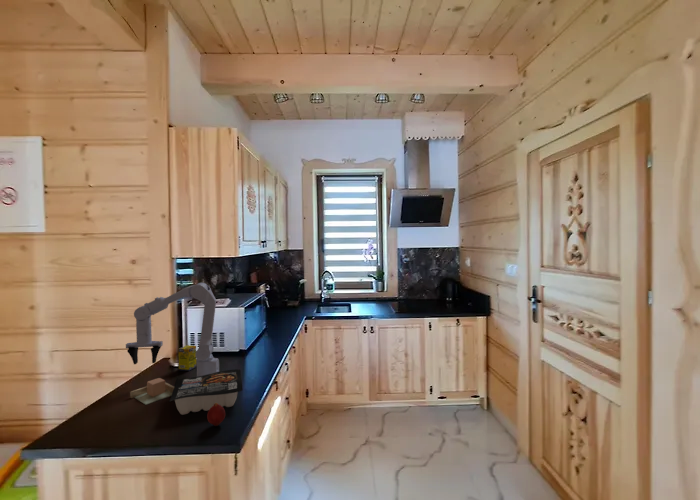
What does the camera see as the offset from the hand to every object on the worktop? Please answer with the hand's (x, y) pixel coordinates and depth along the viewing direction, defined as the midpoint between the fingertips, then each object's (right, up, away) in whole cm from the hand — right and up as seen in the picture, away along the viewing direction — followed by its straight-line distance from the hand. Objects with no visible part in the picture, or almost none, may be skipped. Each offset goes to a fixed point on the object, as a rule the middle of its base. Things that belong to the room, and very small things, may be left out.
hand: (144, 363), depth 153 cm
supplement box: (+11, -9, +18) cm, 23 cm away
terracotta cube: (+11, -9, -10) cm, 17 cm away
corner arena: (+11, -10, -11) cm, 18 cm away
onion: (+46, -10, -35) cm, 59 cm away
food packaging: (+35, -10, -16) cm, 40 cm away
